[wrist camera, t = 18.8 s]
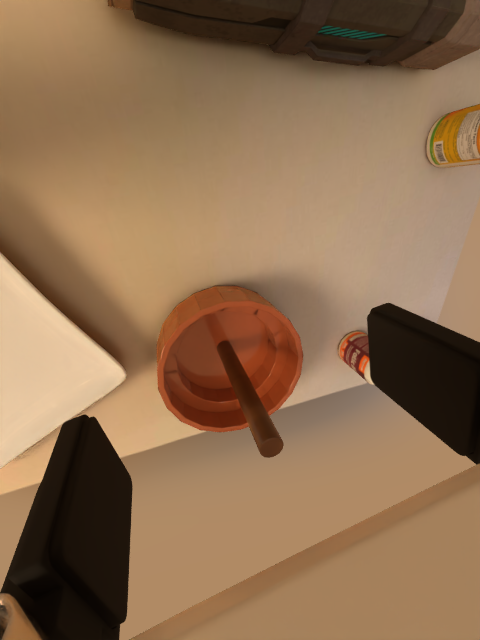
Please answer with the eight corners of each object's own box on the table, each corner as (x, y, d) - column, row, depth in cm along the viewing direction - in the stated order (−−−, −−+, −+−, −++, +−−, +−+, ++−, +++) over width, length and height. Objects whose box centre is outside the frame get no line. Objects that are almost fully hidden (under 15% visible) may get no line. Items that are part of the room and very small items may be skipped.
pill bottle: (335, 337, 40) (376, 369, 33) (366, 325, 41) (414, 354, 33) (339, 366, 42) (379, 402, 35) (368, 354, 43) (414, 387, 35)
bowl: (182, 416, 38) (187, 451, 33) (135, 310, 32) (132, 333, 27) (291, 374, 40) (312, 400, 35) (267, 266, 34) (288, 279, 29)
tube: (111, -55, 24) (454, -21, 28) (127, 58, 28) (425, 74, 31) (65, -146, 15) (577, -78, 19) (98, 37, 19) (516, 63, 23)
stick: (218, 356, 36) (261, 461, 22) (215, 343, 35) (257, 443, 21) (232, 351, 36) (285, 452, 22) (229, 338, 35) (282, 434, 21)
